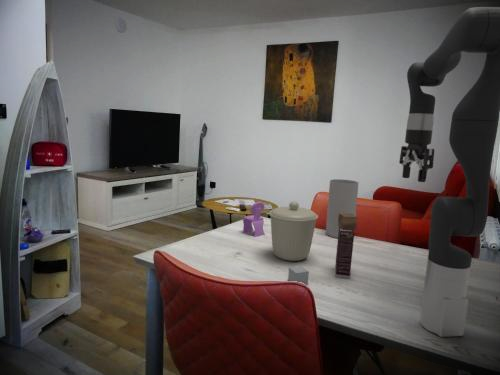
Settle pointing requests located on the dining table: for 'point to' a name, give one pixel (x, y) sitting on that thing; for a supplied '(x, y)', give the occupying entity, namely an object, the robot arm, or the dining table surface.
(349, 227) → the walnut cube
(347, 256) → the supplement box
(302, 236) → the canister
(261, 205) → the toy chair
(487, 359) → the dining table surface
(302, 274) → the slate cube
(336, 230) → the cylinder vase
